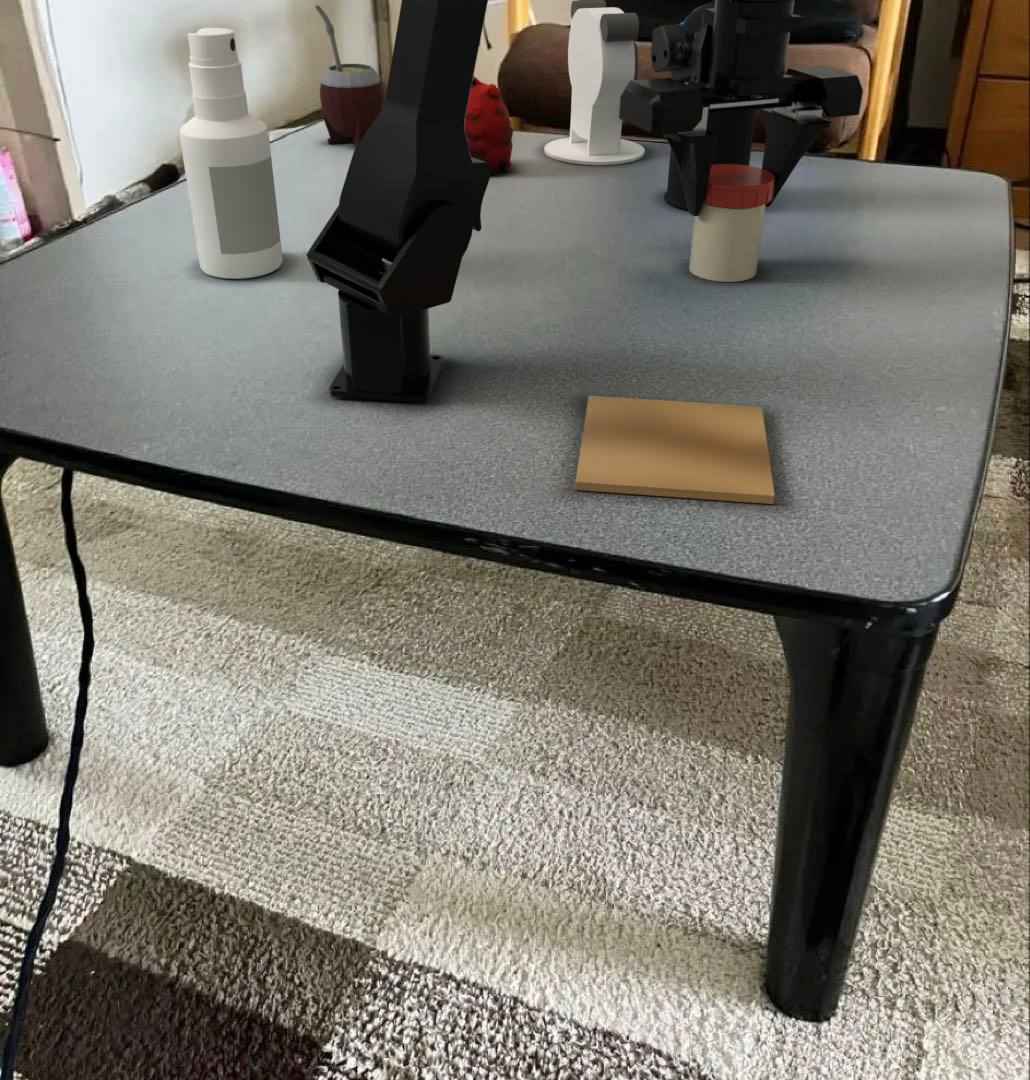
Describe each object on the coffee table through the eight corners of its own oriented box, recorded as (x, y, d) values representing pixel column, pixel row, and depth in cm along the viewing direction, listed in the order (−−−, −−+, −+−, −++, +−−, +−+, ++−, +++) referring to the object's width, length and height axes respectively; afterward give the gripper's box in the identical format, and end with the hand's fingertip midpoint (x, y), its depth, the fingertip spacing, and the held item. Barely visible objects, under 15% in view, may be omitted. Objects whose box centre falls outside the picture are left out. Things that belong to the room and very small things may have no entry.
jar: (758, 283, 88) (770, 192, 84) (689, 280, 89) (698, 189, 85) (754, 260, 93) (766, 173, 89) (688, 257, 94) (697, 170, 89)
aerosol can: (759, 197, 109) (789, -26, 98) (727, 218, 103) (755, -17, 92) (685, 184, 112) (705, -33, 101) (649, 204, 106) (667, -24, 95)
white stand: (662, 162, 119) (674, 12, 111) (564, 169, 117) (570, 16, 108) (622, 136, 129) (631, -3, 121) (531, 142, 126) (534, 0, 118)
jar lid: (775, 209, 84) (778, 187, 84) (691, 206, 85) (693, 184, 84) (769, 186, 90) (772, 165, 89) (690, 183, 90) (692, 162, 90)
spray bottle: (264, 283, 87) (234, 41, 77) (185, 276, 88) (146, 36, 78) (295, 255, 93) (271, 26, 83) (221, 249, 94) (188, 22, 84)
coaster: (773, 504, 60) (775, 495, 59) (574, 490, 61) (575, 481, 61) (760, 414, 69) (762, 406, 69) (588, 403, 70) (588, 395, 70)
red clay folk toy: (526, 169, 117) (529, 16, 108) (482, 182, 112) (481, 23, 104) (475, 156, 121) (473, 8, 112) (430, 168, 116) (425, 15, 108)
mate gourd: (378, 132, 130) (369, -7, 121) (393, 148, 123) (385, 2, 115) (315, 136, 128) (303, -5, 119) (327, 153, 121) (315, 5, 113)
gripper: (796, -21, 89) (770, 173, 97) (592, -11, 83) (583, 195, 91) (885, -3, 80) (847, 208, 89) (664, 9, 74) (647, 235, 83)
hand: (729, 210), depth 88 cm, fingers closed on jar lid, 6 cm apart
